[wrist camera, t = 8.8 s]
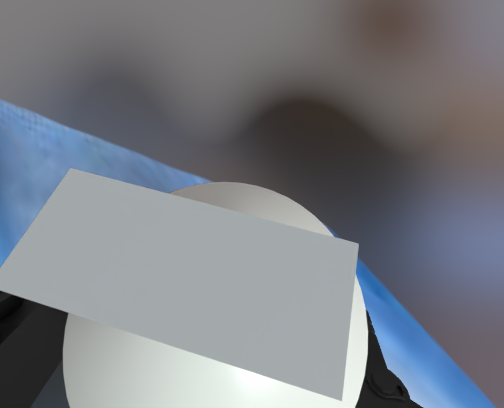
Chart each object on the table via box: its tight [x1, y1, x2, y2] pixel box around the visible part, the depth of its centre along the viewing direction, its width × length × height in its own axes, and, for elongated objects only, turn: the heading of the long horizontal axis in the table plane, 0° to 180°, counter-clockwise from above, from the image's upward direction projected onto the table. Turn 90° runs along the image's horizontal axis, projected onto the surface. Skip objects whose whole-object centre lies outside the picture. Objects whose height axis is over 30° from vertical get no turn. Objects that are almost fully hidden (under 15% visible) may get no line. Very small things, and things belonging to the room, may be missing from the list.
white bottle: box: [0, 168, 368, 408], centre depth 9 cm, size 5×5×15 cm
